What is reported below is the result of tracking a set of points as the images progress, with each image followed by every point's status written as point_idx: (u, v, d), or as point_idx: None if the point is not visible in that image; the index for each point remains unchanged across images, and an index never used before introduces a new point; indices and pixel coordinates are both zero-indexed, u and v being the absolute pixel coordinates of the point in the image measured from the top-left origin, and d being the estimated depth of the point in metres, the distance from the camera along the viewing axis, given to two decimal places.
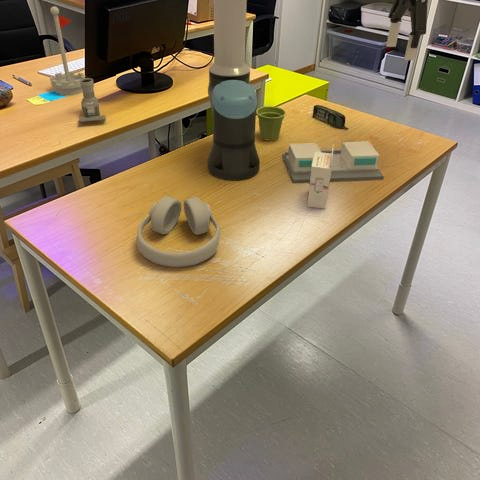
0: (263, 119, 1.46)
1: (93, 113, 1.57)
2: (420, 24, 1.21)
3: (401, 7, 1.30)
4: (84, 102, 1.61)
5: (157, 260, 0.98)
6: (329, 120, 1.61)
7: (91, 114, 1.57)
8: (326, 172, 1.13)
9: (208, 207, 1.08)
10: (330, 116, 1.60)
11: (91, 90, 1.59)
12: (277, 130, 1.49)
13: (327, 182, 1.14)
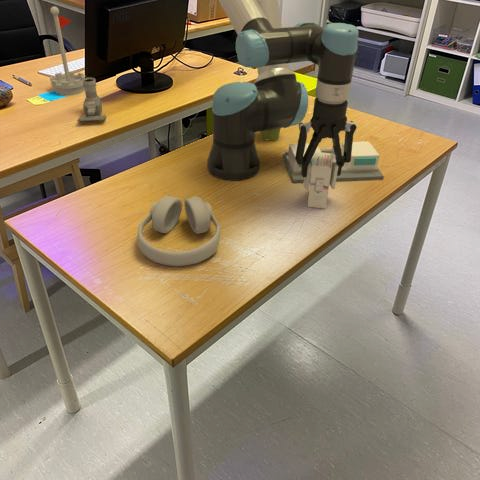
0: None
1: (93, 113, 1.57)
2: (296, 153, 1.14)
3: (332, 140, 1.13)
4: (86, 101, 1.61)
5: (157, 259, 0.99)
6: None
7: (91, 114, 1.57)
8: (326, 172, 1.13)
9: (209, 206, 1.08)
10: None
11: (93, 90, 1.60)
12: (277, 130, 1.49)
13: (327, 182, 1.14)
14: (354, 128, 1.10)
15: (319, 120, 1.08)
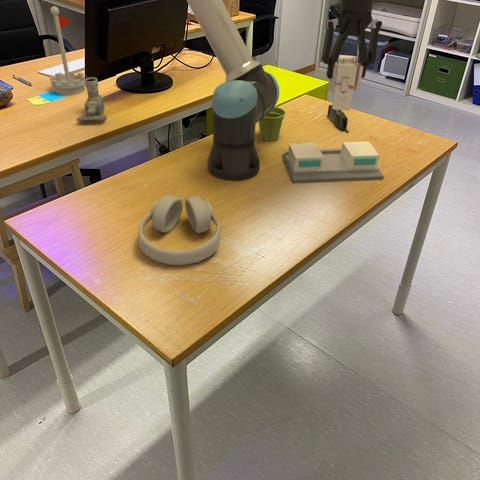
0: (263, 119, 1.46)
1: (92, 112, 1.57)
2: (323, 52, 1.17)
3: (357, 39, 1.16)
4: (88, 101, 1.62)
5: (158, 258, 0.99)
6: (335, 121, 1.61)
7: (90, 113, 1.57)
8: (352, 70, 1.16)
9: (209, 206, 1.08)
10: (336, 116, 1.60)
11: (95, 89, 1.60)
12: (277, 130, 1.49)
13: (353, 81, 1.17)
14: (380, 24, 1.13)
15: (346, 15, 1.11)
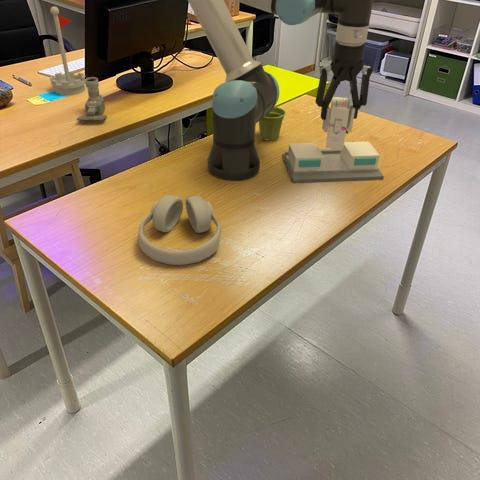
0: (263, 119, 1.46)
1: (92, 112, 1.57)
2: (317, 95, 1.24)
3: (350, 83, 1.23)
4: (88, 100, 1.62)
5: (158, 258, 0.99)
6: None
7: (90, 113, 1.57)
8: (344, 113, 1.22)
9: (209, 206, 1.08)
10: None
11: (95, 89, 1.60)
12: (277, 130, 1.49)
13: (345, 123, 1.24)
14: (370, 71, 1.20)
15: (339, 63, 1.18)
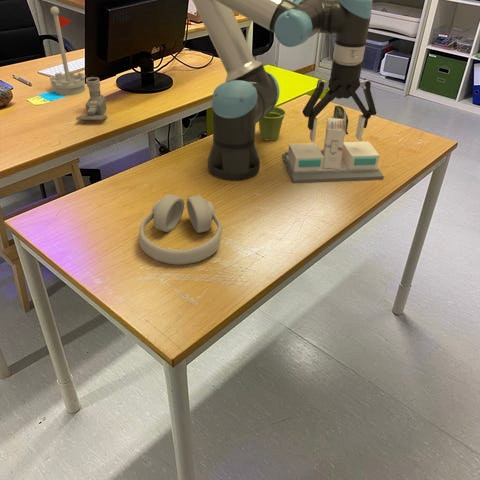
0: (263, 119, 1.46)
1: (92, 112, 1.57)
2: (306, 106, 1.25)
3: (353, 98, 1.26)
4: (89, 100, 1.62)
5: (158, 257, 0.99)
6: None
7: (90, 113, 1.58)
8: (340, 135, 1.26)
9: (210, 205, 1.08)
10: (338, 117, 1.60)
11: (96, 89, 1.60)
12: (277, 130, 1.49)
13: (341, 144, 1.28)
14: (369, 84, 1.22)
15: (337, 82, 1.21)
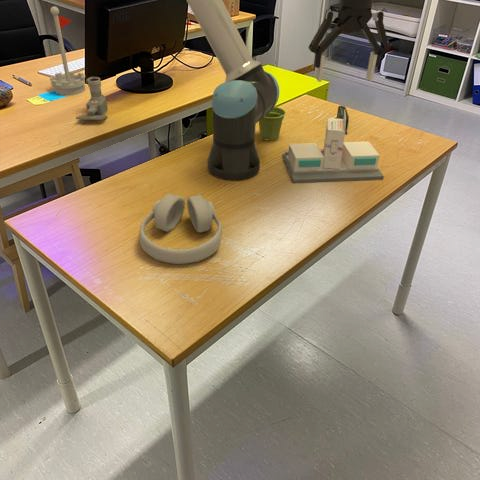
0: (263, 119, 1.46)
1: (92, 112, 1.57)
2: (313, 40, 1.15)
3: (364, 33, 1.16)
4: (90, 100, 1.62)
5: (158, 256, 0.99)
6: None
7: (90, 113, 1.58)
8: (340, 135, 1.26)
9: (211, 205, 1.09)
10: None
11: (97, 89, 1.60)
12: (277, 130, 1.49)
13: (341, 144, 1.28)
14: (381, 15, 1.12)
15: (347, 12, 1.11)
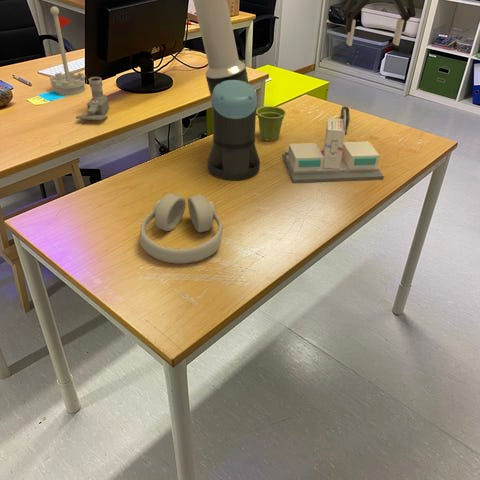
0: (263, 119, 1.46)
1: (92, 112, 1.58)
2: (345, 6, 1.24)
3: None
4: (91, 100, 1.62)
5: (159, 256, 0.99)
6: None
7: (90, 113, 1.58)
8: (340, 135, 1.26)
9: (212, 205, 1.09)
10: None
11: (98, 89, 1.60)
12: (277, 130, 1.49)
13: (341, 144, 1.28)
14: None
15: None
